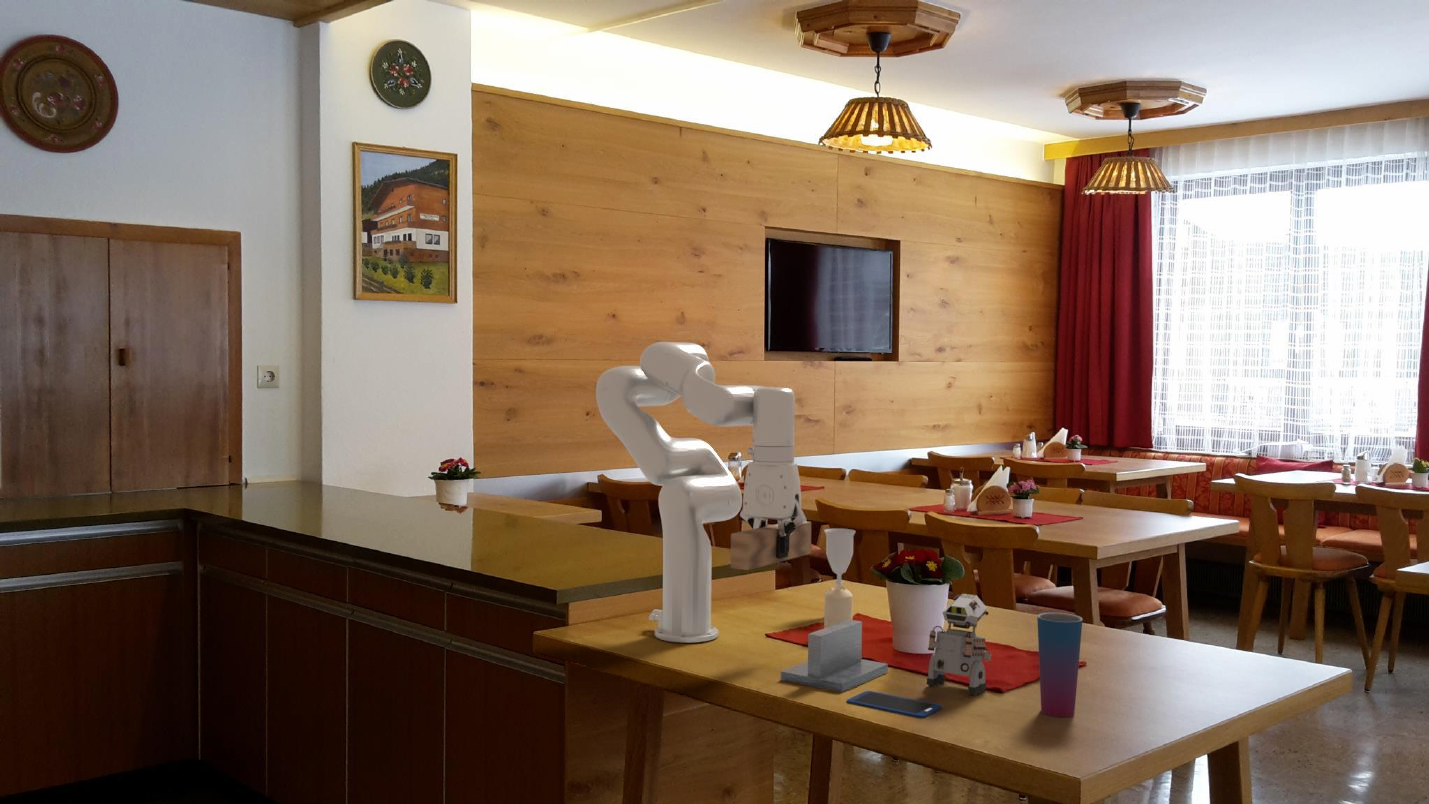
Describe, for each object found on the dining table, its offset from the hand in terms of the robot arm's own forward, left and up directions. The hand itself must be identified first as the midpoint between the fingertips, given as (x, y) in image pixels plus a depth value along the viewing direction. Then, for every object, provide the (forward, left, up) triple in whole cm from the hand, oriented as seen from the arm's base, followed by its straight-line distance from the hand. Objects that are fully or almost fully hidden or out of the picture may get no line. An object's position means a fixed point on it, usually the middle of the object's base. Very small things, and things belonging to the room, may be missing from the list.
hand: (772, 555), depth 212 cm
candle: (+1, +23, -19) cm, 30 cm away
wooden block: (0, 0, -1) cm, 1 cm away
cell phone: (+31, -11, -20) cm, 38 cm away
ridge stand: (+15, -2, -19) cm, 24 cm away
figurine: (+35, +6, -19) cm, 40 cm away
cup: (+53, +2, -19) cm, 56 cm away
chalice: (-10, +42, -19) cm, 47 cm away
